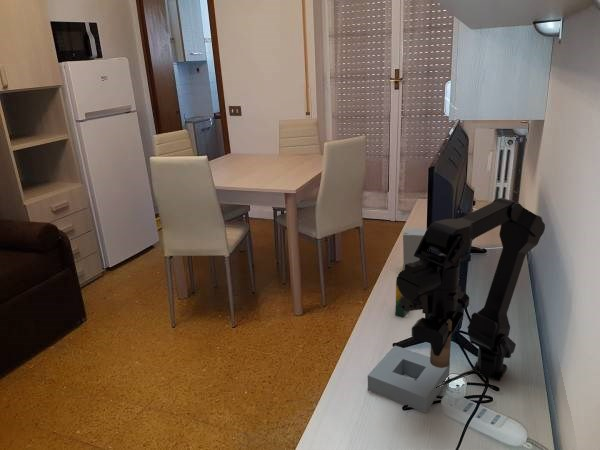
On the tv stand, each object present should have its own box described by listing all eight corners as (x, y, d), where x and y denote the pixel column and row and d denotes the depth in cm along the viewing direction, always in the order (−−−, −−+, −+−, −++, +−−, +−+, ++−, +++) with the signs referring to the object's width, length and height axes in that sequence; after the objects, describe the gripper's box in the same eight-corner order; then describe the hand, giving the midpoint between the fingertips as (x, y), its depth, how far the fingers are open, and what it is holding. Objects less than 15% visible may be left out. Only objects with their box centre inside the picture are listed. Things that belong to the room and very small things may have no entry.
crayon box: (404, 318, 136) (405, 282, 132) (394, 315, 137) (395, 280, 134) (413, 307, 142) (414, 272, 138) (403, 304, 143) (404, 270, 139)
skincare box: (429, 269, 166) (430, 227, 161) (426, 278, 160) (428, 235, 155) (405, 267, 169) (406, 226, 164) (401, 275, 163) (402, 233, 158)
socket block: (394, 358, 118) (394, 345, 116) (449, 377, 110) (449, 363, 108) (367, 389, 107) (367, 375, 106) (425, 413, 99) (426, 397, 98)
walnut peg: (433, 354, 102) (435, 314, 99) (451, 360, 100) (454, 319, 97) (427, 364, 99) (429, 323, 96) (445, 370, 97) (448, 328, 94)
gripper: (421, 259, 105) (419, 320, 110) (387, 294, 91) (386, 361, 96) (472, 269, 99) (467, 332, 104) (443, 307, 85) (439, 379, 90)
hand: (440, 349), depth 99 cm, fingers closed on walnut peg, 4 cm apart
